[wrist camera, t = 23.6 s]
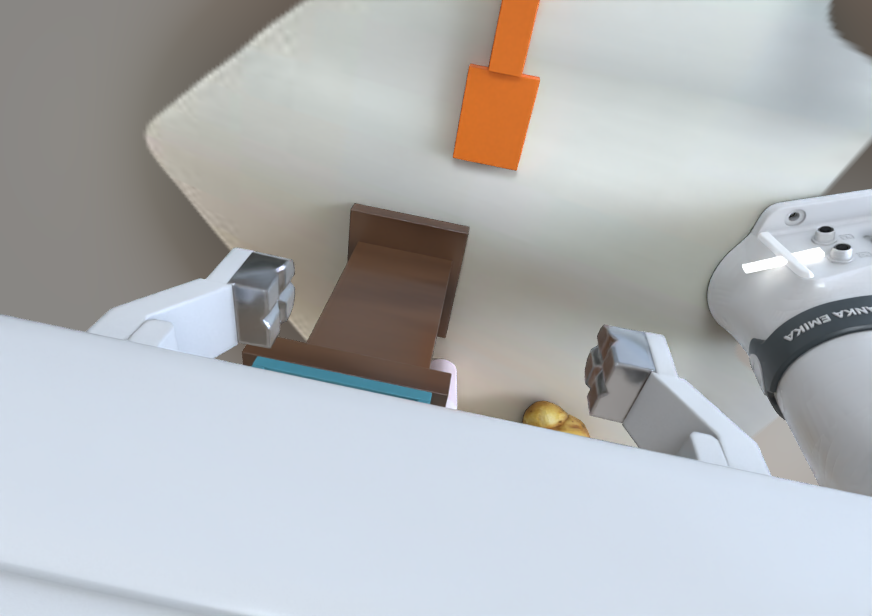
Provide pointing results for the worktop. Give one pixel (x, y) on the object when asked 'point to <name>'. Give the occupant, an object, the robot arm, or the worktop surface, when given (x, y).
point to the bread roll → (553, 419)
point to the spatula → (500, 93)
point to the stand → (385, 304)
